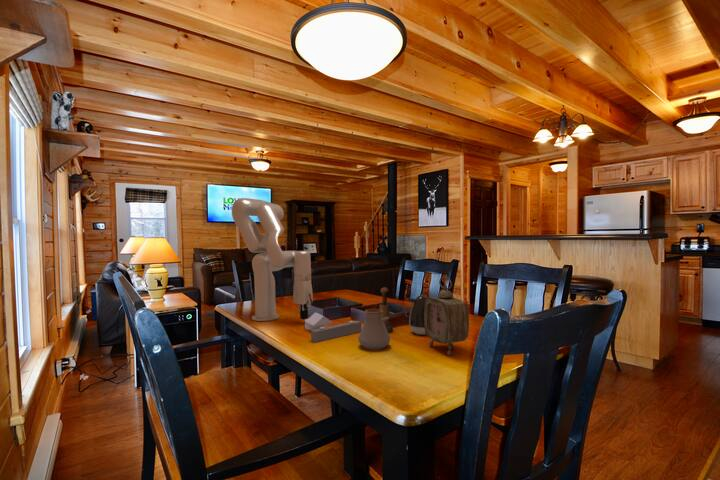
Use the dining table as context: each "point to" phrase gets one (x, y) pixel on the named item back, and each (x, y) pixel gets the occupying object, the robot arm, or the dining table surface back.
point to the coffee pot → (375, 330)
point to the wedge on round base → (316, 322)
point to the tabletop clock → (446, 318)
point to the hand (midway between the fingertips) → (304, 318)
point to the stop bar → (335, 331)
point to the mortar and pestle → (385, 310)
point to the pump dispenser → (417, 315)
